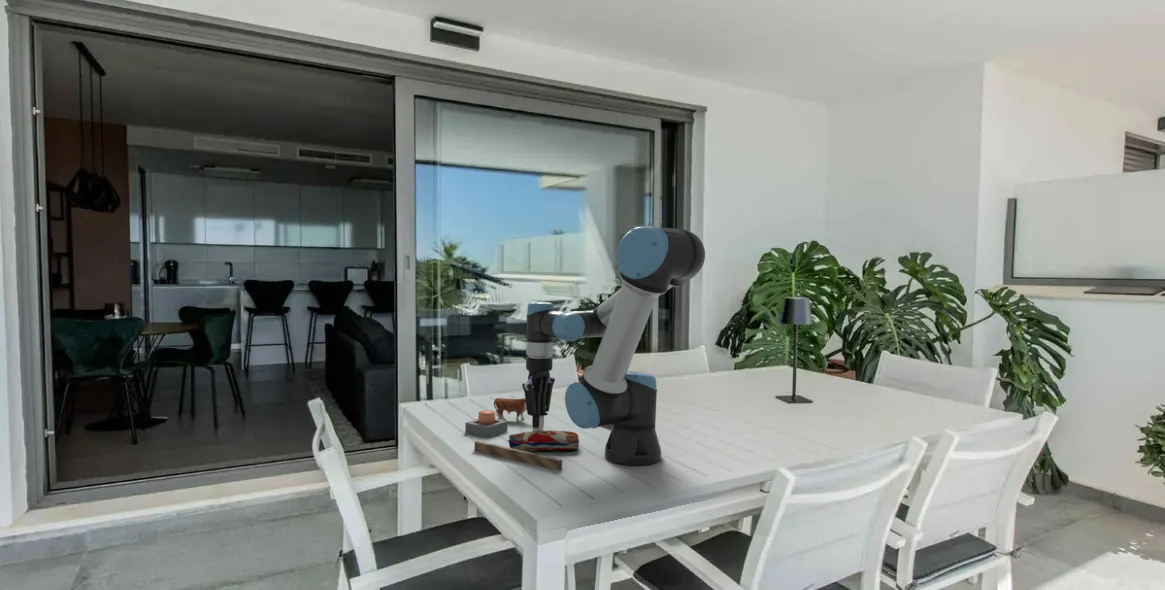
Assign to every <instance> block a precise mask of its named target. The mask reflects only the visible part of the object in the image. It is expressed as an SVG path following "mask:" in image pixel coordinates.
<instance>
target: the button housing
mask: <svg viewBox="0 0 1165 590" xmlns="http://www.w3.org/2000/svg"><path fill="white" fill-rule="evenodd" d="M508 423H509V422H508V420H506V421H504V420H502V419H499V418H498V419H497V418H495V423H494V424H491V425H483V424H478V418H477V419H473V420H469V421H467V422H465V426H464V427H465V428H464V429H465V430H464V432H465V434H470V435H475V436H476V435H477V436H479V437H483V438H490V437H494V436H496V435H500V434H502V433H505V432H508V425H509V424H508Z"/></svg>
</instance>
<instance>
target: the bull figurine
mask: <svg viewBox="0 0 1165 590" xmlns="http://www.w3.org/2000/svg"><path fill="white" fill-rule="evenodd" d="M493 407H494V409H495V414H496V416H497V418H498V419H499V420H504V421H507V419H506V417H505V416H504V411H506V412H507V414H508V415H510V414H511V413H516V417H515V418H516V419H515V421H516V422H520V420H522V421H525V417H524V413H525V412H527V407H526V400H525V396H521V397H517V398H502V397H498V398H494V401H493Z"/></svg>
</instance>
